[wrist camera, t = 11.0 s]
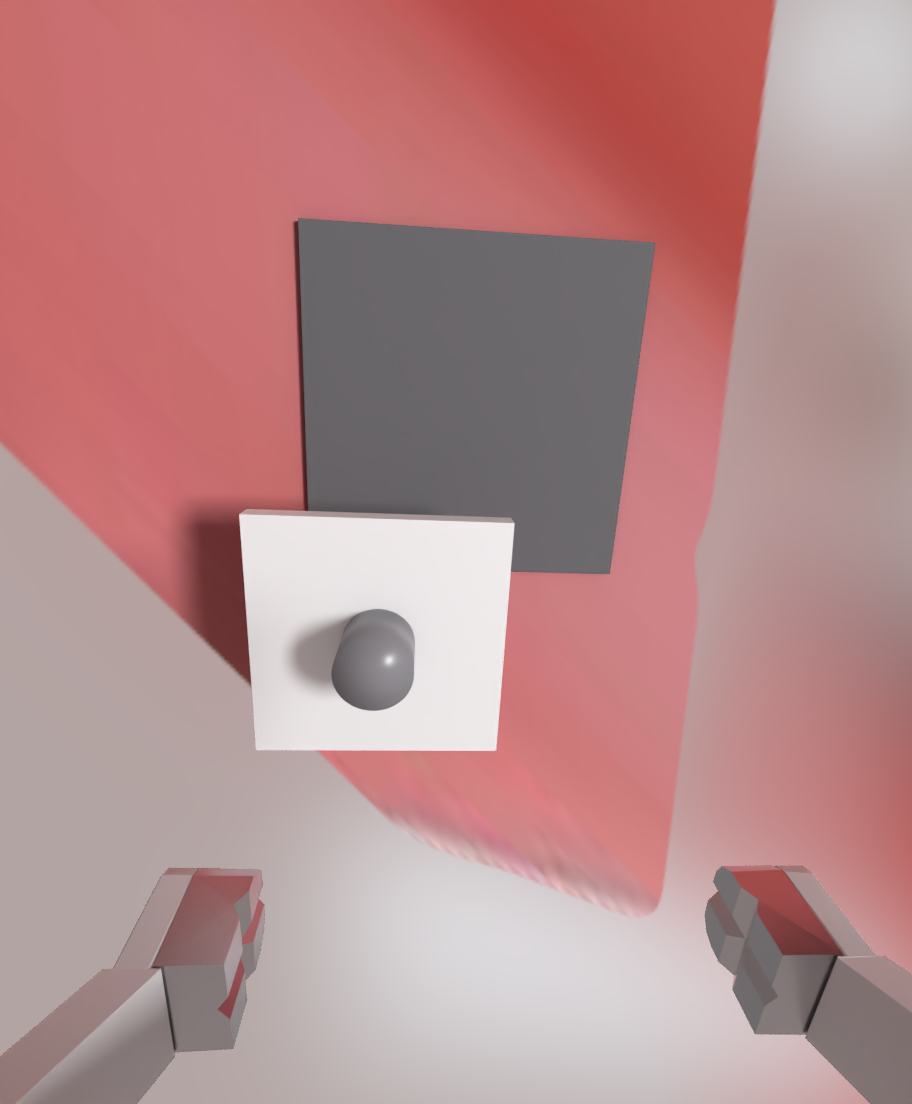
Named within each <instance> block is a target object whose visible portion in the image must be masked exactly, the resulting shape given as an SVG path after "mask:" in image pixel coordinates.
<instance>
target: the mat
mask: <svg viewBox="0 0 912 1104" xmlns="http://www.w3.org/2000/svg"><path fill="white" fill-rule="evenodd" d="M298 228H299V257H300V287H301V316H302V345H303V374H304V403H305V433H306V462H307V491H308V511H324V512H354V513H384V514H414V515H445V516H475V517H505V518H512V520H513V521H514V523H515V525H514V537H513V549H512V561H511V571H514V572H553V573H592V574H610V568H611V560H612V553H613V546H614V539H615V531H616V524H617V517H618V510H619V503H620V495H621V488H622V481H623V474H624V466H625V459H626V452H627V445H628V437H629V430H630V423H631V416H632V409H633V401H634V394H635V387H636V380H637V372H638V365H639V358H640V351H641V343H642V336H643V329H644V322H645V315H646V307H647V300H648V293H649V286H650V278H651V271H652V264H653V257H654V249H655V243H650V242H636V241H621V240H607V239H592V238H578V237H563V236H549V235H535V234H520V233H506V232H491V231H477V230H462V229H448V228H433V227H419V226H404V225H390V224H375V223H361V222H346V221H332V220H317V219H303V218H298Z"/></svg>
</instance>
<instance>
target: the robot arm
mask: <svg viewBox="0 0 912 1104" xmlns="http://www.w3.org/2000/svg"><path fill="white" fill-rule="evenodd" d="M713 882H714V884H715V886H716V888H717V890H718V892H717V893H716V894H715V895H714V896H712V897H711V898H710V899H709V900H708V903H707V907H706V911H705V922H706V930H707V935H708V938H709V941H710V944H711V947H712V949H713V951H714V953H715V955H716V957H717V959H718V961H719V962H720V963H721V964H722V965H723V966H724V967H726V968H727V969H728V970H729V971H730V972H731V973H732V974H733V975H734V981H733V991H734V994H735V996H736V998H737V1000H738V1001H739V1003H740V1005H741V1007H742V1009H743V1011H744V1013H745V1015H746V1017H747V1019H748V1021H749V1023H750V1025H751V1027H752V1029H753V1031H754V1033H755V1034H798V1035H801V1034H804V1035H806V1037H805V1038H806V1039H807V1040H808V1041H809V1042H810V1043H811V1044H812V1045H813V1046H814V1047H815V1048H816V1049H817V1050H818V1051H819V1052H820V1053H821V1054H822V1055H823V1056H824V1057H825V1058H826V1059H827V1060H828V1061H829V1062H830V1063H831V1064H832V1065H833V1066H834V1067H835V1068H836V1069H837V1070H838V1071H839V1073H840V1074H842V1076H844V1078H845V1079H846V1080H848V1082H849V1083H850V1084H851V1085H852V1086H853V1087H854V1088H855V1089H856V1090H857V1091H858V1092H859V1093H860V1094H861V1095H862V1096H863V1097H864V1098H866V1100H867V1101H868V1102H869V1103H870V1104H912V974H910V973H909V972H908V971H906V970H905V969H903V968H902V967H900V966H899V965H897V964H896V963H894V962H893V961H892V960H890V959H889V958H887V957H886V956H876V955H875V953H874V952H873V951H872V949H871V948H870V947H869V946H868V944H867V943H866V942H865V940H864V939H863V938H862V937H861V935H860V934H859V933H858V931H857V930H856V929H855V928H854V926H853V925H852V924H851V923H850V921H849V920H848V919H847V917H846V916H845V915H844V913H843V912H842V911H841V910H840V908H839V907H838V906H837V904H836V903H835V902H834V901H833V899H832V898H831V897H830V896H829V894H828V893H827V892H826V890H825V889H824V888H823V886H822V885H821V884H820V883H819V881H818V880H817V879H816V877H815V876H814V875H813V874H812V872H810V871H809V870H808V869H807V868H805V867H804V866H771V865H765V866H722V867H720V868H719V870H717V871H716V874H715V877H714V881H713ZM262 886H263V882H262V872H261V870H258V869H221V868H168V870H167V871H166V872H165V873H164V874H163V875H162V876H161V877H160V879H159V881H158V883H157V885H156V887H155V889H154V891H153V892H152V894H151V897H150V898H149V900H148V902H147V904H146V906H145V908H144V910H143V912H142V914H141V915H140V918H139V919H138V921H137V923H136V925H135V927H134V929H133V931H132V933H131V935H130V937H129V939H128V941H127V942H126V944H125V946H124V948H123V950H122V952H121V954H120V956H119V958H118V960H117V962H116V964H115V966H114V967H113V969H102V970H101V971H100V972H99V973H98V974H97V975H95V976H94V977H93V978H92V979H91V980H89V981H88V982H87V983H86V984H85V985H84V986H82V987H81V988H80V989H79V990H78V991H77V992H75V993H74V994H73V995H72V996H71V997H70V998H68V999H67V1000H66V1001H65V1002H64V1003H62V1004H61V1005H60V1006H59V1007H58V1008H57V1009H55V1010H54V1011H53V1012H52V1013H51V1014H49V1015H48V1016H47V1017H46V1018H45V1019H44V1020H42V1021H41V1022H40V1023H39V1024H38V1025H37V1026H36V1027H34V1028H33V1029H32V1030H31V1031H29V1033H27V1034H26V1035H25V1036H24V1037H22V1038H21V1039H20V1040H19V1041H18V1042H16V1043H15V1044H14V1045H13V1046H12V1047H11V1048H9V1049H8V1050H7V1051H6V1052H5V1053H3V1054H2V1055H1V1056H0V1104H137V1103H138V1102H139V1101H140V1100H141V1098H142V1097H143V1096H144V1094H145V1093H146V1092H147V1091H148V1090H149V1088H150V1087H151V1086H152V1085H153V1083H154V1082H155V1081H156V1079H157V1078H158V1077H159V1076H160V1075H161V1073H162V1072H163V1071H164V1070H165V1069H166V1067H167V1066H168V1065H169V1063H170V1062H171V1061H172V1060H173V1059H174V1057H175V1053H174V1052H190V1051H207V1050H222V1049H233V1048H234V1044H235V1041H236V1037H237V1034H238V1030H239V1026H240V1023H241V1020H242V1016H243V1013H244V1009H245V1005H246V1002H247V993H246V982H245V981H246V979H247V978H248V977H249V976H250V975H251V974H252V973H253V972H254V971H255V970H256V966H257V962H258V958H259V955H260V951H261V945H262V939H263V933H264V923H265V909H264V904H263V903H262V902H261V901H260V900H259V896H260V893H261V889H262Z"/></svg>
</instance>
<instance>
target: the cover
mask: <svg viewBox="0 0 912 1104" xmlns="http://www.w3.org/2000/svg"><path fill="white" fill-rule="evenodd" d="M239 519H240V533H241V547H242V561H243V575H244V589H245V602H246V616H247V630H248V644H249V658H250V672H251V686H252V699H253V713H254V727H255V740H256V750H417V751H496V745H497V733H498V720H499V708H500V696H501V684H502V671H503V659H504V647H505V635H506V623H507V610H508V598H509V586H510V574H511V561H512V549H513V537H514V525H515V523H514V521H513V520H512V518H505V517H475V516H445V515H414V514H384V513H354V512H324V511H293V510H263V509H246V510H244V511H243V512H242V513H240V514H239Z"/></svg>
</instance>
